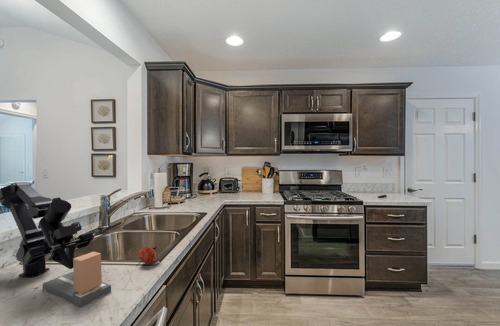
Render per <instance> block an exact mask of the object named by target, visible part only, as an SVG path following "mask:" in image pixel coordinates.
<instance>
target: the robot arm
mask: <svg viewBox="0 0 500 326" xmlns="http://www.w3.org/2000/svg"><path fill="white" fill-rule="evenodd" d="M0 205H1V206H3V207H4V208H7V209H9V210H10V213H11V215H12V217H13V219H14V221H15V224H16V226H17V229H18V230H19V233H20V235H21V237H22V239H21V240H20V244H19V248H18V249H17V252H16V253H15V258H16V261H17V262H21V263H22V273H20V274H18V277H23V278H34V277H36V276H39V275H40V274H43V273H45V272H47V271H50V268H49V267H47V265H46V264H47V262H46V256H47V255H48V256H49V257H48V259H47V260H48V261H53V262H56V263H58V264H60V265H62V266H64V267H65V268H67V269H68V270H72V269H73V258H75V250H76V249H83V248H86V247H89V245H90V244H91V243H92V241H93V240H94V239H95V235H94V233H92V232H85V233H82V234H79V235H78V237H77V239H74V235H77V234H78V232H79V231H81V230H82V228H83V227H82V225H81V223H80V222H79V221H75V222H73V223H71V224H70V225H67V226H66V225H65V226H64V224H63V221H64V220H66V217H67V216H68V214H69V212H70V211H71V209H72V203H71V202H69V201H67V200H65V199H62V198H61V197H54V198H50V197H45V196H42V195H41V194H40V193H39V192H38V190H36V189H35V188H34V187H33V186H32V184H31V183H30V182H29V181H19V182H17V181H16V182H12V183H10V185H6V186H2V187H1V188H0ZM35 219H40V220H39V221H38V225H36V223H35V221H34V220H35ZM39 229H40V230H39ZM72 239H74V240H72ZM73 270H74V269H73Z"/></svg>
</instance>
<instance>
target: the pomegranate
mask: <svg viewBox="0 0 500 326" xmlns="http://www.w3.org/2000/svg"><path fill="white" fill-rule="evenodd" d="M156 249H158V246H155V247H150V246H145V247H142V248H141V249H140V250H139V251H138V253H137V258H139V259H140V261H139V262H138V263H137V264H136V265H135V266H136V267H137V266H139V265H140V264H141V263H142V262H143V263H144V264H145V265H147V266H150V265H151V264H153V263H154V262H155V261H156V259H157V252H156Z"/></svg>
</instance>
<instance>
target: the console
mask: <svg viewBox="0 0 500 326" xmlns="http://www.w3.org/2000/svg"><path fill="white" fill-rule="evenodd" d="M41 286H42V290H43V291H45V292H47V293H50V294H51V295H54V296H56V297H58V298H61V299H63V300H65V301H67V302H69V303H72V304H73V305H76V306H78V307H80V308H82V307H84V306H87V305H88V304H89V303H92V302H93V301H96V300H98V299H100V298H101V297H103V296H104V295H105V296H106V295H107V294H109V293H110V292H112V285H111V284H110V283H106V282H104V281H102V284H101V285H99V286H97V287H95V288H93V289H91V290H89V291H87V292H85V293H83V294H81V293H78V292H76V291H74V271H71V272H68V273H66V274H63V275H60V276H58V277H55V278H53V279H50V280H48V281H46V282H43V283H42V285H41Z"/></svg>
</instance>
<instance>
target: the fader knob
mask: <svg viewBox="0 0 500 326" xmlns="http://www.w3.org/2000/svg"><path fill="white" fill-rule="evenodd" d="M73 272H74V291H76V292H78V293H81V294H83V293H85V292H87V291H89V290H91V289H93V288H95V287H97V286H99V285H101V284H102V282H103V281H102V280H103V277H102V253H100V252H96V251H91V252H89V253H86V254H82V255H79V256H77V257H74V258H73Z"/></svg>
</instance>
